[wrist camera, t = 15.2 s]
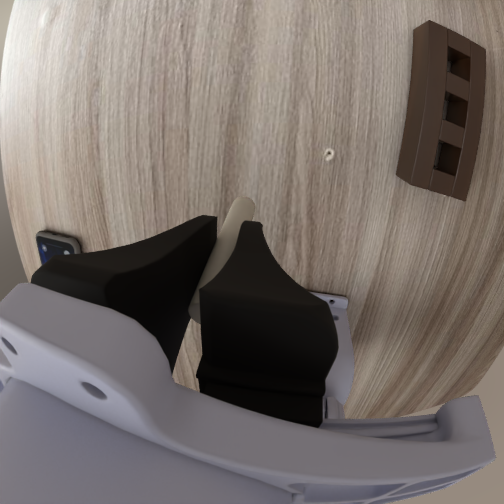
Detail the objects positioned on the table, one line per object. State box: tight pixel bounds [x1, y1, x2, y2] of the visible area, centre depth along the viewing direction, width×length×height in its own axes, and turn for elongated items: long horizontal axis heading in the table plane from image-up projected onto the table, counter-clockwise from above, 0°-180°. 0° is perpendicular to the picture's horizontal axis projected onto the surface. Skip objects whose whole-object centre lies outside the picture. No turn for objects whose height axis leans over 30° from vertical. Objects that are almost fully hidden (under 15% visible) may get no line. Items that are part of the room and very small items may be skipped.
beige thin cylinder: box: [188, 196, 255, 324], centre depth 12 cm, size 1×1×8 cm
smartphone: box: [36, 231, 81, 265], centre depth 28 cm, size 7×1×15 cm
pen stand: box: [396, 20, 486, 201], centre depth 14 cm, size 5×12×3 cm, turn 174°
